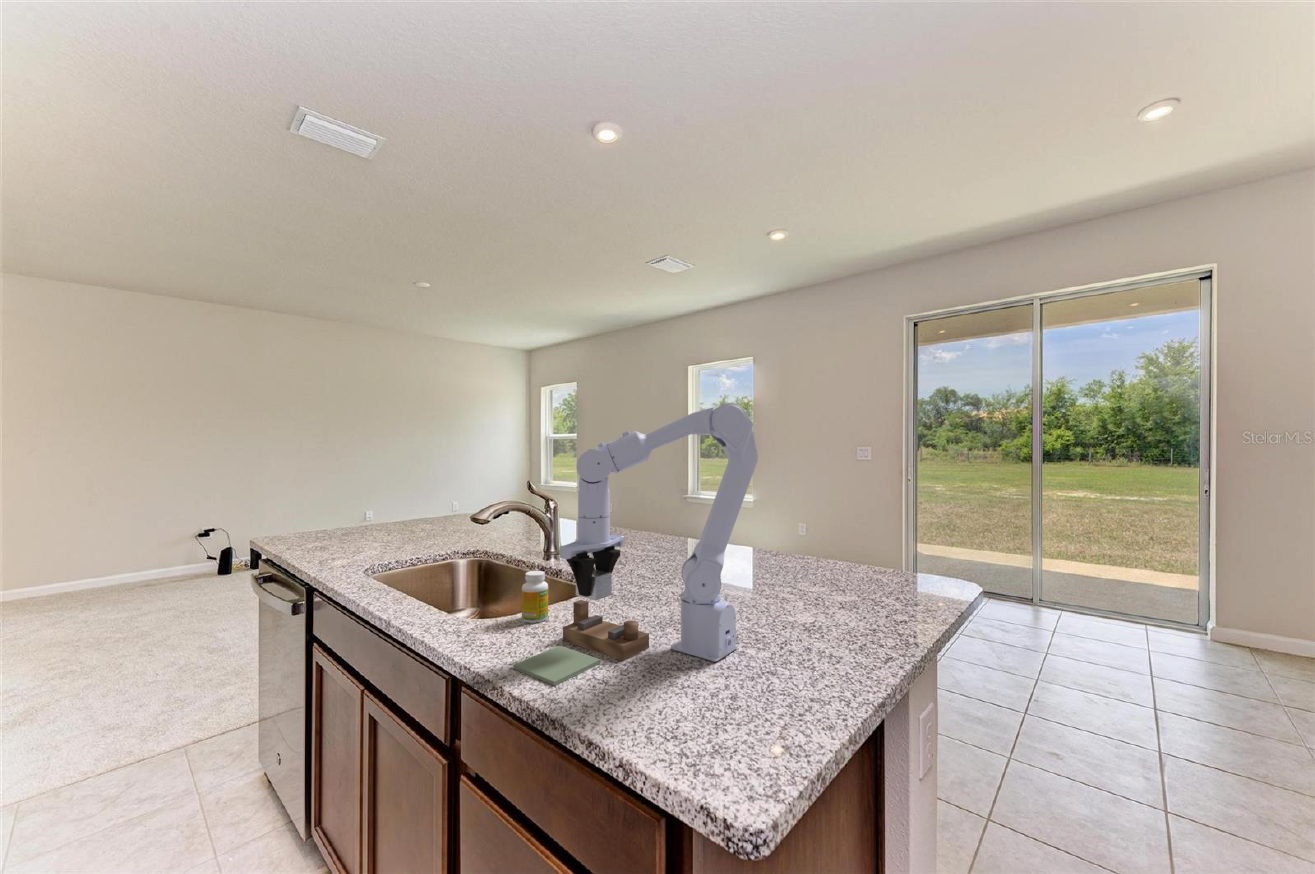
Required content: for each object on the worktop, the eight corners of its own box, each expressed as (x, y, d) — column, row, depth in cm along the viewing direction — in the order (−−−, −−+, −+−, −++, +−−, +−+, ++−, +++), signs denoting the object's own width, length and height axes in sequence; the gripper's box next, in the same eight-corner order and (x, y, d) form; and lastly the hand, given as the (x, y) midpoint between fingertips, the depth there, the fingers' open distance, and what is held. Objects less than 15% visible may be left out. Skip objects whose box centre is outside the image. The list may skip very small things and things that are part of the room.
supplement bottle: (541, 624, 102) (541, 576, 102) (517, 622, 103) (517, 575, 103) (552, 615, 107) (552, 570, 107) (528, 614, 108) (529, 569, 109)
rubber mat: (600, 663, 83) (600, 659, 84) (554, 685, 76) (554, 681, 76) (559, 648, 90) (559, 645, 90) (513, 668, 82) (513, 664, 82)
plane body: (649, 647, 90) (649, 611, 90) (623, 660, 84) (623, 622, 85) (589, 629, 99) (589, 596, 99) (562, 640, 93) (562, 605, 94)
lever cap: (611, 595, 90) (611, 569, 90) (595, 600, 87) (595, 573, 87) (591, 590, 93) (591, 565, 93) (575, 595, 90) (575, 569, 90)
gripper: (605, 510, 98) (605, 580, 98) (547, 518, 87) (547, 597, 86) (633, 513, 94) (632, 586, 94) (576, 522, 82) (575, 605, 82)
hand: (593, 592), depth 90 cm, fingers closed on lever cap, 4 cm apart
